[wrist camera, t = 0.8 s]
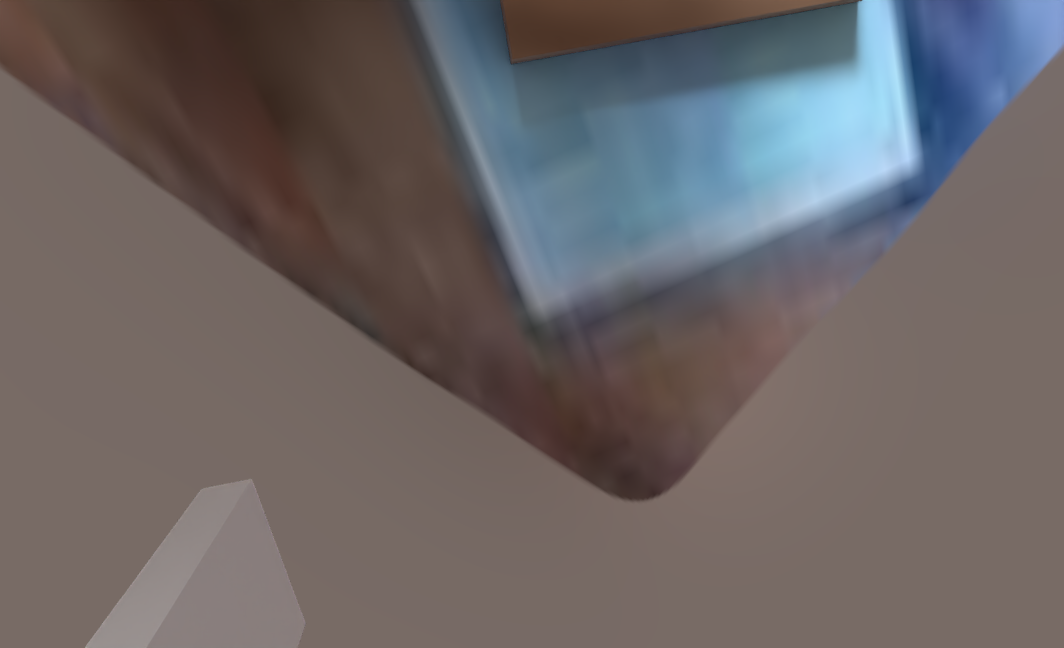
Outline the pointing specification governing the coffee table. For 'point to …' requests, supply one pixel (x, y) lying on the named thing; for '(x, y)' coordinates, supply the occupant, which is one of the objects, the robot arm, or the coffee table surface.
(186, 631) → the robot arm
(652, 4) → the board
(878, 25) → the coffee table surface
